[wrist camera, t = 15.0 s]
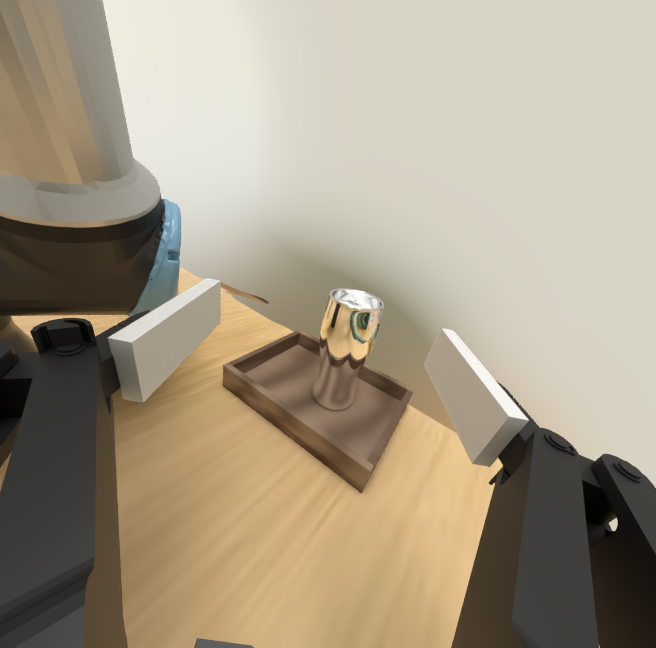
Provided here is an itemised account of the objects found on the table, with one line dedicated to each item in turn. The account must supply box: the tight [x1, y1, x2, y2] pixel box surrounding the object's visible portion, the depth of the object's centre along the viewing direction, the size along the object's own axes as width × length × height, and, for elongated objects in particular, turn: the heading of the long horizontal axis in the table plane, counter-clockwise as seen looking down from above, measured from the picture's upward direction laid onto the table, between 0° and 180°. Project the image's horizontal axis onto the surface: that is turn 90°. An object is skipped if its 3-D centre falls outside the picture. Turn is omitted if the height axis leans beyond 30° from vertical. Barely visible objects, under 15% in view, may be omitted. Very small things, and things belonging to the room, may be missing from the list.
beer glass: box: [312, 288, 384, 410], centre depth 32 cm, size 7×7×15 cm
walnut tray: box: [223, 330, 414, 493], centre depth 35 cm, size 22×16×4 cm
